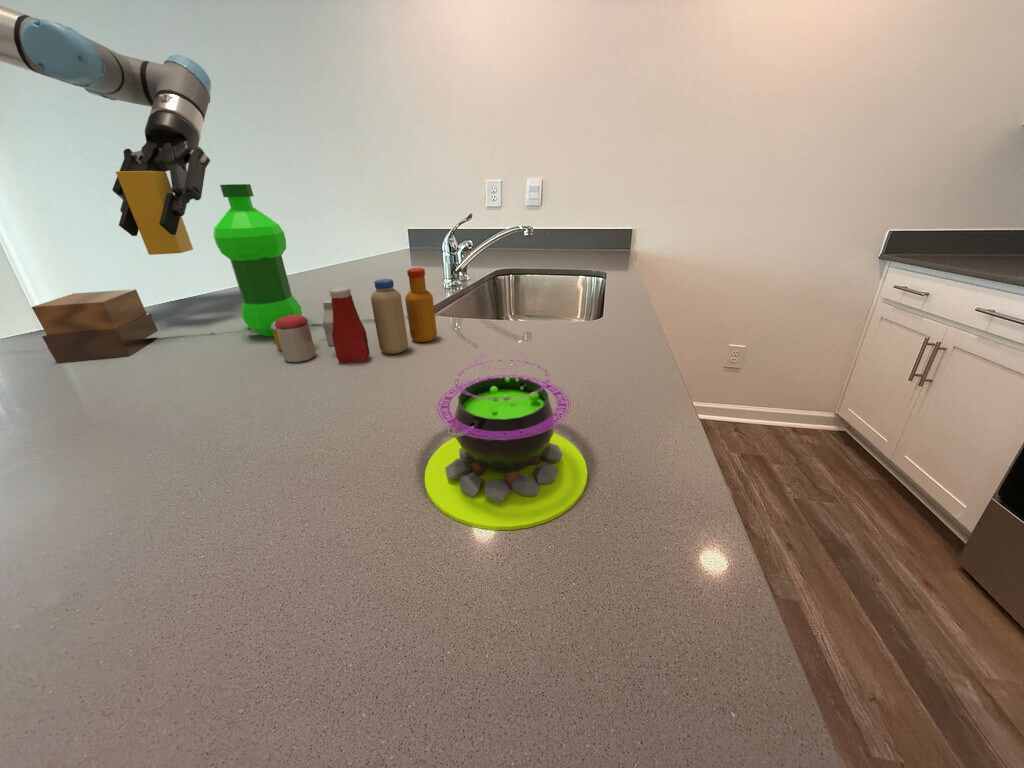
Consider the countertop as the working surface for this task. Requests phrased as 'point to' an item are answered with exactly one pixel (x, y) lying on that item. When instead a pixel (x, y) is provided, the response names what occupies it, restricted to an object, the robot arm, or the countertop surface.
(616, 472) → the countertop surface
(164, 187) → the bar
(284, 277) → the plastic bottle
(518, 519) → the toy cauldron
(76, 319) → the stacked wooden blocks
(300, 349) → the toy food
